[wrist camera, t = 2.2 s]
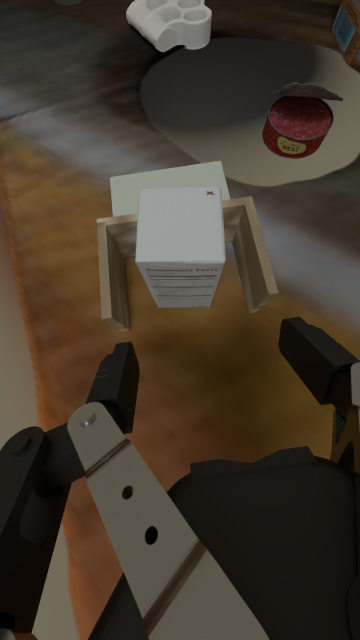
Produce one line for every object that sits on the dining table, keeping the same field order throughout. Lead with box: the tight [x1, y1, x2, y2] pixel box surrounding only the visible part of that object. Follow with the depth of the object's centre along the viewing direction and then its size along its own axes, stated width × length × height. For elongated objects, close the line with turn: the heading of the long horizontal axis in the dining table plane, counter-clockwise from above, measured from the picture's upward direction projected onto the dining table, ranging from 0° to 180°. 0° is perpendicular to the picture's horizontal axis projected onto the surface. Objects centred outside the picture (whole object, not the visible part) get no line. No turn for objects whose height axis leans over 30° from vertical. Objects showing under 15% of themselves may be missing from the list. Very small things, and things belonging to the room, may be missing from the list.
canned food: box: [262, 82, 343, 159], centre depth 32 cm, size 11×10×10 cm
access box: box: [97, 196, 279, 332], centre depth 26 cm, size 18×12×7 cm, turn 98°
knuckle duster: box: [126, 0, 212, 52], centre depth 42 cm, size 3×18×15 cm
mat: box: [110, 161, 230, 217], centre depth 32 cm, size 18×12×1 cm, turn 98°
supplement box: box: [135, 187, 226, 308], centre depth 23 cm, size 7×7×13 cm
